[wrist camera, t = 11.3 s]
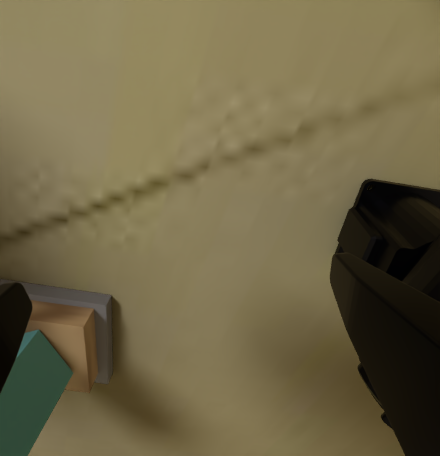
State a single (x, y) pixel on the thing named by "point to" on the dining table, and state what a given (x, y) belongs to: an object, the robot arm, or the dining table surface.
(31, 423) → the pillar
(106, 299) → the base slab
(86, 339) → the top slab
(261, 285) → the dining table surface
